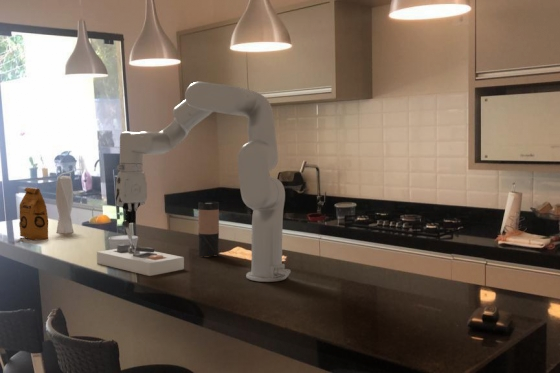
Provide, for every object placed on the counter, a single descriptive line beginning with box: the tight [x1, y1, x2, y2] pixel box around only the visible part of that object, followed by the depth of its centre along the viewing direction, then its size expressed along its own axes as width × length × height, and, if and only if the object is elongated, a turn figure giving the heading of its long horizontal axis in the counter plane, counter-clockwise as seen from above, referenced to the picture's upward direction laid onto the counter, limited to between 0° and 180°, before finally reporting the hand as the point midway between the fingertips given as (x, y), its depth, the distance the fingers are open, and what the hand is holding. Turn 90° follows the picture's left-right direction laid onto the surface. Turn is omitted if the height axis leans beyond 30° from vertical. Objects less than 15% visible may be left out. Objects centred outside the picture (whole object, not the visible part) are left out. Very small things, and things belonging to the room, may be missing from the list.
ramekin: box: [107, 234, 139, 250], centre depth 223 cm, size 11×11×5 cm
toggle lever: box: [121, 219, 136, 253], centre depth 194 cm, size 2×2×12 cm
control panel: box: [96, 247, 185, 277], centre depth 194 cm, size 29×14×6 cm, turn 50°
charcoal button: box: [117, 244, 130, 253], centre depth 199 cm, size 4×4×3 cm
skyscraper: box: [55, 171, 74, 235], centre depth 266 cm, size 8×8×28 cm
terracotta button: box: [150, 255, 163, 260], centre depth 188 cm, size 4×4×3 cm
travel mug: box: [197, 201, 220, 257], centre depth 214 cm, size 8×8×20 cm
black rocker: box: [135, 246, 155, 252], centre depth 192 cm, size 3×5×1 cm, turn 140°
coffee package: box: [18, 187, 49, 241], centre depth 249 cm, size 10×12×22 cm
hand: (130, 222), depth 194 cm, fingers closed
